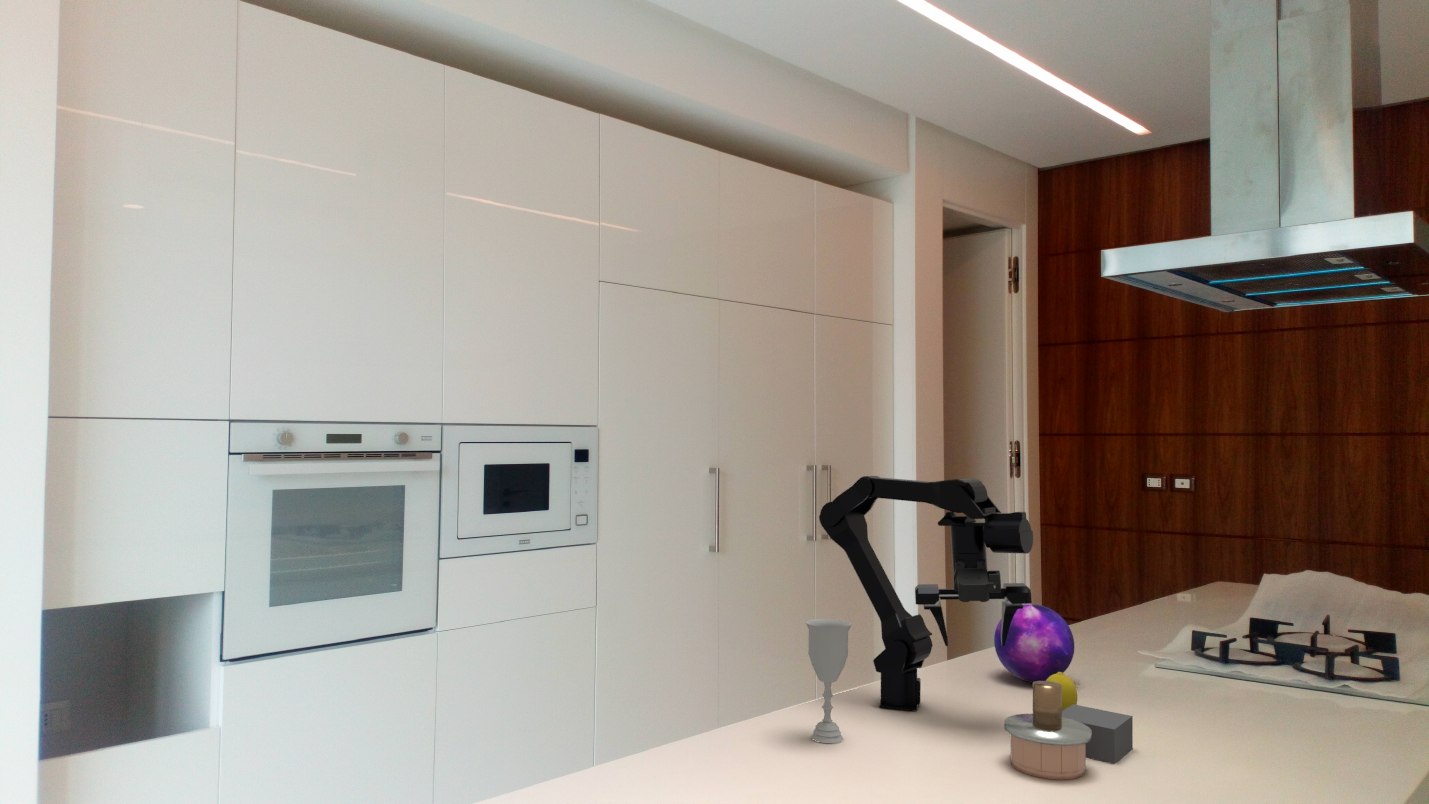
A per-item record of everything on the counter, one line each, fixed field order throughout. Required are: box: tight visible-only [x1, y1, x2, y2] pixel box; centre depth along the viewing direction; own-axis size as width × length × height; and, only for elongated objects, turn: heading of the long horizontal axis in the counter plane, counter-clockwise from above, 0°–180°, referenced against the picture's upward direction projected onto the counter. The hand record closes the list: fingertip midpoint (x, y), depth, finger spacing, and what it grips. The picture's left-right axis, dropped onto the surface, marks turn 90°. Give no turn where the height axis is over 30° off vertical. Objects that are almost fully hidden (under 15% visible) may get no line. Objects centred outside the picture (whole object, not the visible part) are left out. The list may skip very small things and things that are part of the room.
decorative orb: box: [993, 603, 1075, 683], centre depth 180 cm, size 15×15×15 cm
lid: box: [1003, 681, 1092, 746], centre depth 132 cm, size 12×12×7 cm
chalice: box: [805, 618, 853, 744], centre depth 143 cm, size 7×7×18 cm
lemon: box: [1046, 672, 1078, 711], centre depth 155 cm, size 6×6×8 cm
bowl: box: [1010, 734, 1086, 780], centre depth 132 cm, size 10×10×5 cm
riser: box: [1062, 704, 1134, 765], centre depth 140 cm, size 9×9×5 cm
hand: (974, 645), depth 153 cm, fingers open, 9 cm apart
